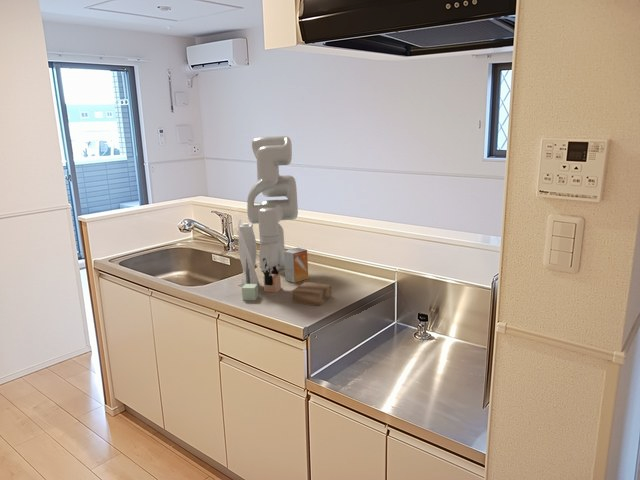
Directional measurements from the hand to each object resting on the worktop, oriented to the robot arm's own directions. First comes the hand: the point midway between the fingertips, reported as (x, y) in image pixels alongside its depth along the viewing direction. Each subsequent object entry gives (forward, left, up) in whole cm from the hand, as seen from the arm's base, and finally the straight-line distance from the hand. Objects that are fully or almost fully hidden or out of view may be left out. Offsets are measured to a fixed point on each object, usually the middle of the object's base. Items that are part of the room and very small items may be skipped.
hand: (272, 282), depth 204 cm
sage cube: (+11, -4, -3) cm, 12 cm away
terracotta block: (0, 0, -3) cm, 3 cm away
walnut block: (+6, +20, -4) cm, 21 cm away
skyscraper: (-4, -13, -4) cm, 14 cm away
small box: (-15, +4, -3) cm, 16 cm away
